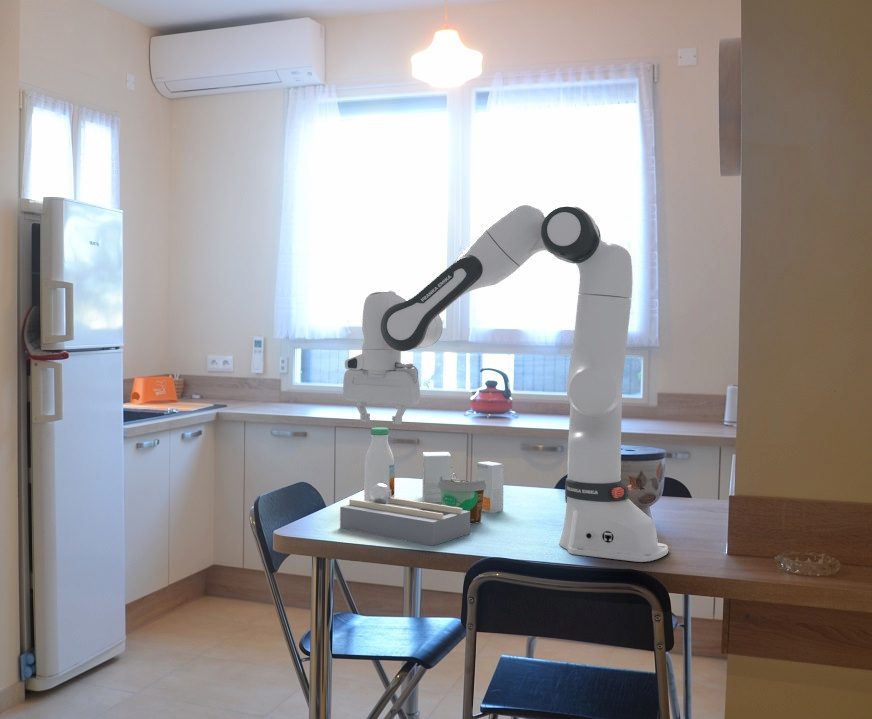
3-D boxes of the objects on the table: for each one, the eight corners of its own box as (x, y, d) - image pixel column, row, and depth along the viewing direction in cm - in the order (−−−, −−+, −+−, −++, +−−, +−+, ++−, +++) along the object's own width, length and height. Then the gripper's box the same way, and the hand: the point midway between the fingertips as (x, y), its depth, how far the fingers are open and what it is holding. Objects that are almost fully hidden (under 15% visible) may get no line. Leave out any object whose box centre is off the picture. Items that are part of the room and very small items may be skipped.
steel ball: (395, 504, 199) (395, 483, 199) (381, 508, 195) (382, 486, 195) (379, 502, 202) (379, 480, 202) (365, 505, 198) (365, 483, 198)
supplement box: (449, 498, 234) (449, 451, 234) (451, 503, 227) (451, 455, 226) (422, 498, 234) (422, 451, 233) (423, 503, 226) (423, 455, 226)
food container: (427, 521, 205) (428, 479, 204) (439, 516, 210) (440, 475, 210) (475, 527, 199) (475, 484, 199) (486, 522, 204) (486, 480, 204)
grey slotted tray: (470, 533, 193) (470, 505, 193) (432, 546, 182) (433, 516, 181) (379, 518, 208) (379, 492, 208) (340, 528, 197) (340, 501, 197)
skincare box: (475, 509, 219) (475, 462, 219) (488, 507, 222) (488, 460, 222) (491, 513, 214) (491, 465, 214) (504, 511, 217) (504, 463, 217)
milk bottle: (383, 509, 218) (383, 430, 218) (358, 506, 222) (358, 428, 222) (400, 504, 225) (400, 427, 224) (375, 501, 229) (376, 425, 228)
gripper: (426, 363, 194) (425, 424, 195) (357, 360, 206) (356, 418, 207) (409, 363, 189) (408, 427, 190) (339, 361, 201) (338, 420, 202)
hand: (380, 422), depth 198 cm, fingers open, 8 cm apart
